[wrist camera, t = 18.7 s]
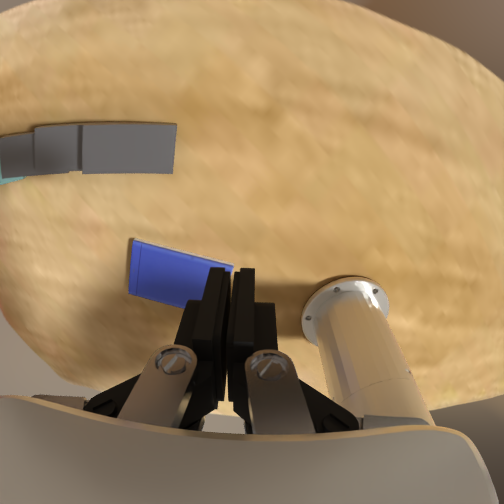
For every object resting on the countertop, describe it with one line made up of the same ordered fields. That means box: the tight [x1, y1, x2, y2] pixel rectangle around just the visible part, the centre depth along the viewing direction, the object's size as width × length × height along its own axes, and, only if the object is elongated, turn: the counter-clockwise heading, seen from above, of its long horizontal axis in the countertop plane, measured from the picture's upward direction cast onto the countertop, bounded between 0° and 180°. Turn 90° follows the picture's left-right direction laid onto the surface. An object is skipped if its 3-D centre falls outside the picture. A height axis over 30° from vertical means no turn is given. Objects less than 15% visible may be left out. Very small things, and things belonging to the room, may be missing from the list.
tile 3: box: [0, 132, 69, 179], centre depth 27 cm, size 2×5×10 cm
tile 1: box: [82, 122, 177, 174], centre depth 28 cm, size 2×5×10 cm
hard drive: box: [129, 238, 234, 309], centre depth 38 cm, size 2×8×12 cm
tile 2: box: [35, 122, 119, 173], centre depth 27 cm, size 2×5×10 cm
